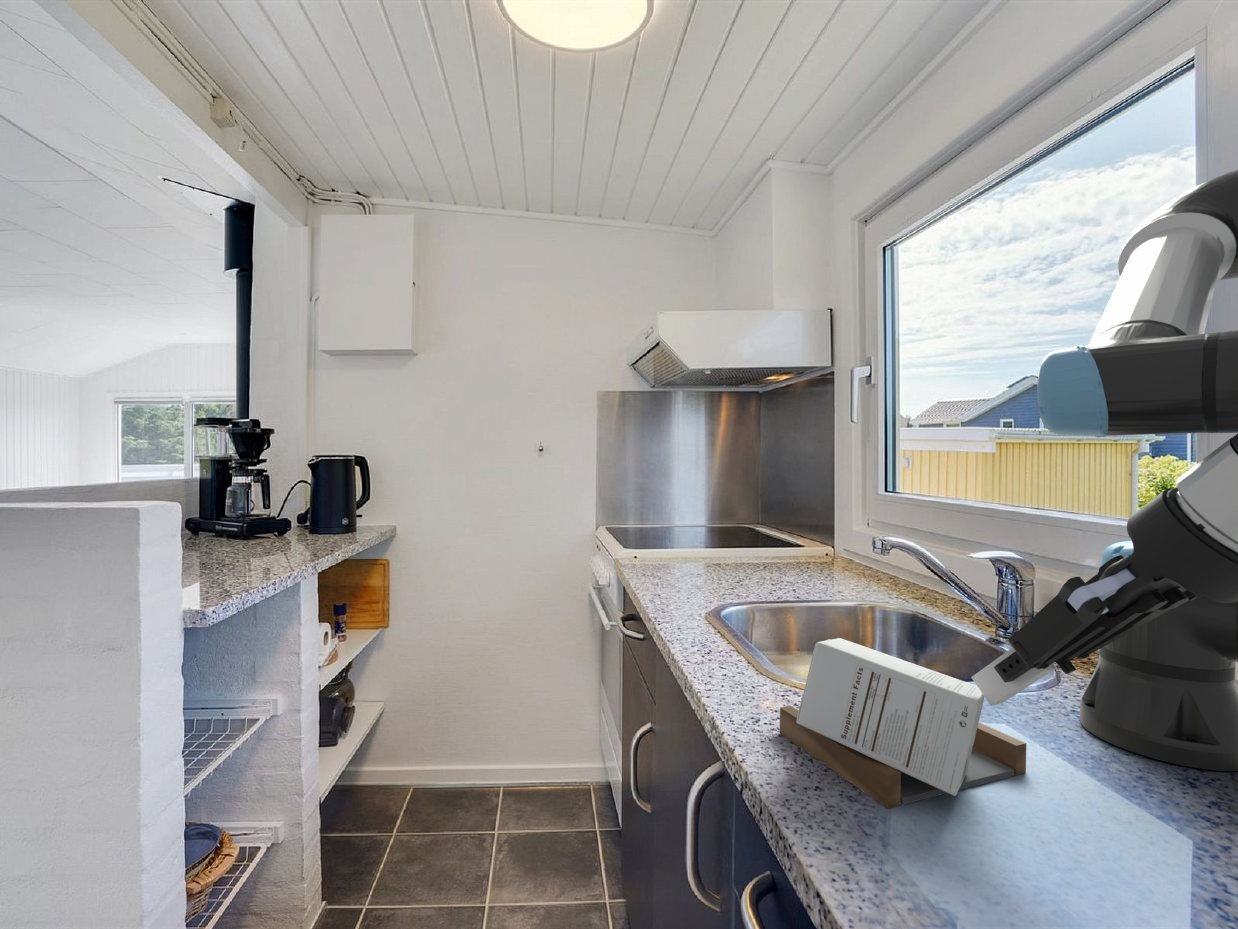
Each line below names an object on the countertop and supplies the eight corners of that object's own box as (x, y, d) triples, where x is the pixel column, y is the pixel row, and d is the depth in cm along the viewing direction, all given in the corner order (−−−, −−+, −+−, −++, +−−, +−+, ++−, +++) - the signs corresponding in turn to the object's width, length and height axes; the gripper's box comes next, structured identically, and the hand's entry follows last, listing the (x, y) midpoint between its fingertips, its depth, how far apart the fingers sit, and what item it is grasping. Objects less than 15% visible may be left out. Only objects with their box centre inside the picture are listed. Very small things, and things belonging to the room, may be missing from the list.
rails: (900, 711, 76) (900, 687, 76) (1025, 772, 61) (1026, 743, 61) (779, 733, 69) (780, 707, 69) (887, 808, 54) (888, 775, 54)
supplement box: (967, 776, 60) (820, 711, 69) (988, 688, 60) (839, 635, 69) (955, 800, 52) (793, 724, 61) (979, 700, 53) (814, 639, 62)
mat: (889, 712, 75) (889, 708, 75) (1014, 775, 60) (1014, 769, 60) (792, 731, 70) (792, 725, 70) (902, 804, 55) (902, 798, 55)
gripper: (1229, 578, 34) (962, 744, 49) (1337, 565, 39) (1063, 720, 54) (1122, 482, 39) (909, 660, 54) (1229, 482, 44) (1006, 645, 59)
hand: (986, 690), depth 54 cm, fingers closed
